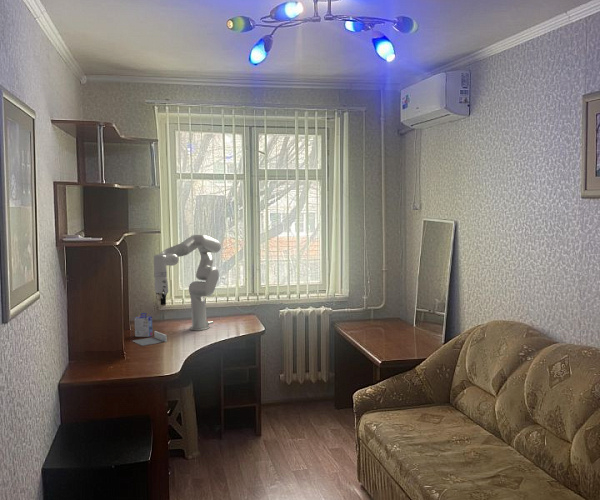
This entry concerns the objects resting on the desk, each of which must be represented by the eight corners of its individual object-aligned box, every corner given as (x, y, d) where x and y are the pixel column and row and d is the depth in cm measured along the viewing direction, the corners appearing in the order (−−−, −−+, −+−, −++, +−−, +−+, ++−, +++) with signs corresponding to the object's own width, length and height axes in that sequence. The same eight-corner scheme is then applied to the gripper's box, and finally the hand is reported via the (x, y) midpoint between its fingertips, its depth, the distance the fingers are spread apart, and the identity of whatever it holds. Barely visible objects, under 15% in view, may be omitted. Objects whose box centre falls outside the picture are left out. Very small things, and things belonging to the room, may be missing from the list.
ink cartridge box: (153, 335, 377) (152, 312, 376) (149, 337, 371) (148, 314, 370) (139, 334, 379) (137, 312, 378) (134, 336, 373) (133, 314, 372)
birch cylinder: (163, 304, 366) (163, 293, 366) (166, 305, 362) (166, 294, 362) (155, 305, 363) (155, 294, 363) (159, 306, 359) (159, 295, 359)
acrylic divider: (155, 337, 370) (155, 331, 370) (166, 341, 358) (166, 335, 357) (154, 337, 370) (154, 331, 369) (165, 341, 357) (165, 335, 357)
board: (152, 337, 369) (152, 337, 369) (163, 342, 356) (162, 341, 356) (132, 341, 361) (132, 340, 361) (142, 346, 348) (142, 345, 348)
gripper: (172, 275, 357) (173, 305, 358) (160, 273, 370) (161, 302, 372) (160, 276, 352) (161, 306, 354) (148, 274, 366) (149, 303, 367)
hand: (161, 303), depth 363 cm, fingers closed on birch cylinder, 5 cm apart
